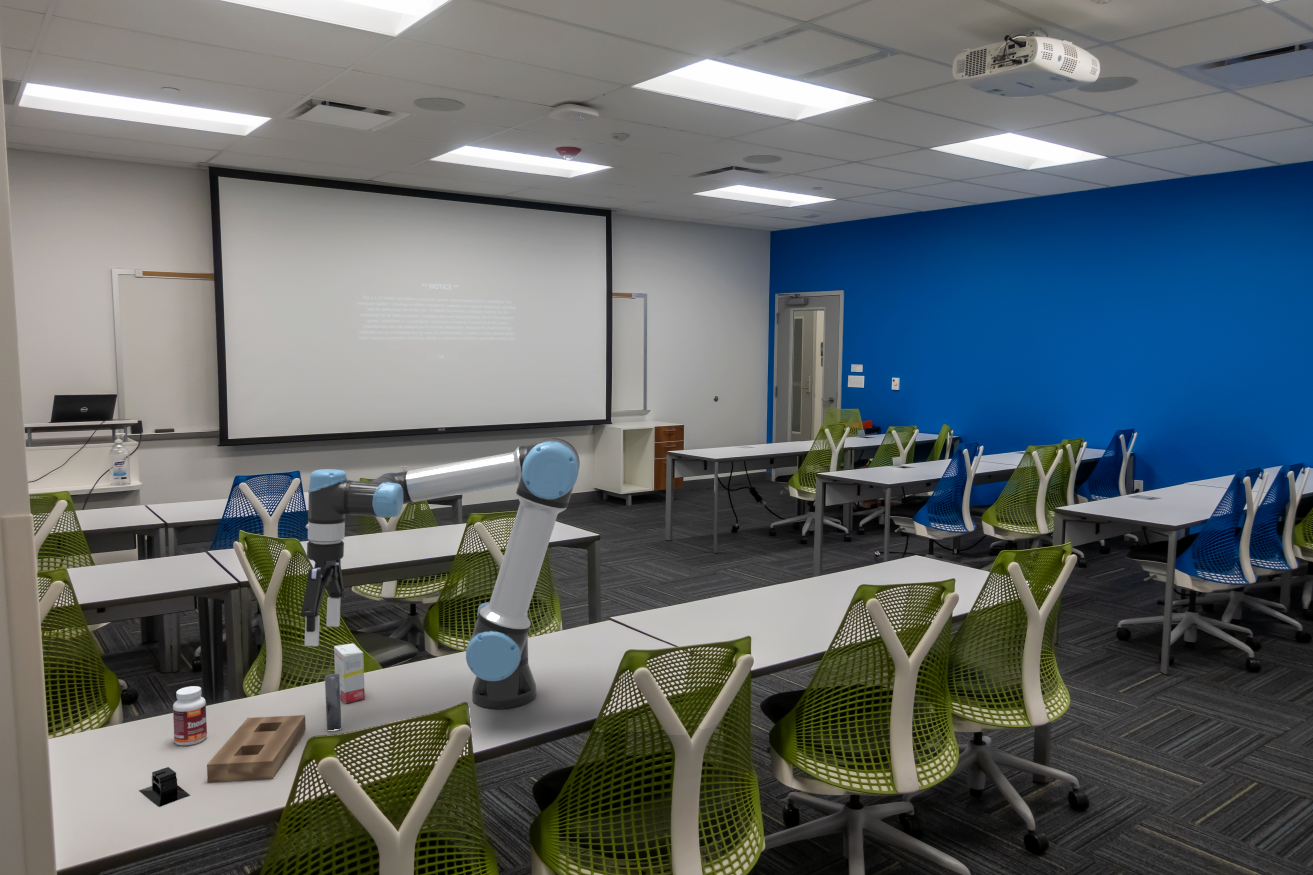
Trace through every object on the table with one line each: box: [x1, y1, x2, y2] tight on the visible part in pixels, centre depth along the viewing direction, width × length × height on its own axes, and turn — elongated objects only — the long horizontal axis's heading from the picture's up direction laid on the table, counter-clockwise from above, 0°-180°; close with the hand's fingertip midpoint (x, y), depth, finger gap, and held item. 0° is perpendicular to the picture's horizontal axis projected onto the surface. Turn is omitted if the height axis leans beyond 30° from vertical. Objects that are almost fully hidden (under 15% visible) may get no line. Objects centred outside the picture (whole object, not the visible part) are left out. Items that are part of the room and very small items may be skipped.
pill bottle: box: [172, 685, 208, 747], centre depth 184 cm, size 6×6×11 cm
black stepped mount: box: [138, 766, 191, 808], centre depth 162 cm, size 12×7×5 cm, turn 50°
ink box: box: [333, 643, 366, 704], centre depth 208 cm, size 9×5×12 cm, turn 36°
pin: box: [324, 673, 342, 731], centre depth 189 cm, size 3×3×12 cm
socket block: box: [206, 714, 307, 783], centre depth 177 cm, size 12×22×4 cm, turn 6°
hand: (322, 635), depth 190 cm, fingers open, 13 cm apart
